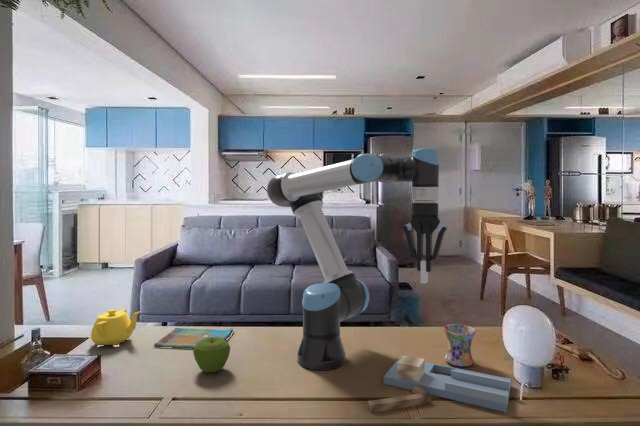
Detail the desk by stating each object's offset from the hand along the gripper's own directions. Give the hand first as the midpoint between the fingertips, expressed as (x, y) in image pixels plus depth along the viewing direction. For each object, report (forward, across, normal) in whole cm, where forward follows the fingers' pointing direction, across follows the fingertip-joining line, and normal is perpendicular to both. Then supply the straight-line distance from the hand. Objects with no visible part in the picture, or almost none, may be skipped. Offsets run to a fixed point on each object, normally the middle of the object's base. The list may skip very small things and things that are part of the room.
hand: (424, 282), depth 119 cm
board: (+26, +8, -6) cm, 28 cm away
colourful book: (+27, -78, -14) cm, 84 cm away
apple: (+27, -55, -30) cm, 68 cm away
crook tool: (+27, -1, -21) cm, 34 cm away
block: (+24, -1, -9) cm, 26 cm away
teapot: (+27, -100, -29) cm, 107 cm away
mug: (+27, +8, +12) cm, 30 cm away
